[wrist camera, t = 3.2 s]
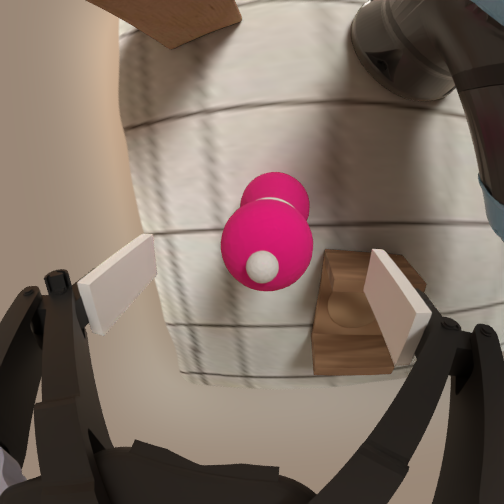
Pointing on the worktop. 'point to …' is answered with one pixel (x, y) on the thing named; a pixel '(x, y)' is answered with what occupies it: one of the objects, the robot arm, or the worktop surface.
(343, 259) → the holder
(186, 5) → the wooden block
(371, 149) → the worktop surface
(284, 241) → the pepper mill
